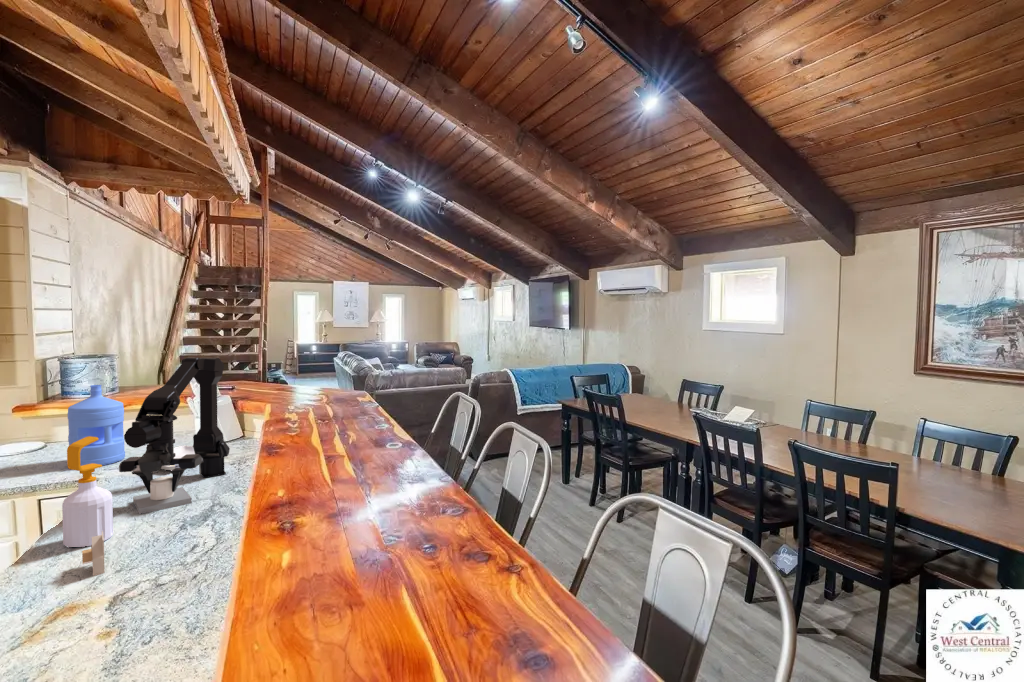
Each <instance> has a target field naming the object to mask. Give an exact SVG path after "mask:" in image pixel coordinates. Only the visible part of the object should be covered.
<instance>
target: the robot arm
mask: <svg viewBox="0 0 1024 682" xmlns="http://www.w3.org/2000/svg"><path fill="white" fill-rule="evenodd" d="M224 368H225V364H224V361H222V360H221V358H219V357H194V356H193V357H191V356H190V357H189V356H188V357H185V358H183V359H182V360H181V364H180V365H179V366H178V367H177V369H176V370H175V372H174V373H172V375H171V376H170V378H168V380H167V381H166V382H165V384H163V385H162V387H160V388H157V389H154V390H153V391H151V392H150V393H149V394H148V395H147V396H146V397H145V398H144V400H143V402H142V404H141V407H140V408H139V411H138V413H137V415H136V417H135V421H132V422H131V427H129V428H128V429H126V431H125V433H124V435H123V436H124V443H126V445H127V446H129V447H130V448H134V449H135V448H141V447H144V446H146V449H145V452H144V453H143V454H142V456H129V457H128V458H125V459H123V460H121V462H120V463H119V465H118V472H119V473H127V472H128V473H130V472H131V474H132V475H135V476H138V477H139V478H140V479H141V481H142V482H143V485H144V487H145V489H146V490H147V494H150V481H151V480H152V479H154V478H153V477H154V474H153V473H154V472H158V471H161V470H160V469H161V467H162V466H170V465H175V469H173V470H172V471H170V472H171V474H172V477H173V478H172V492H175V490H176V488H178V485H179V483H180V481H181V478H182V476H183V474H184V473H185V471H186V470H187V469H188V470H189V469H195V468H196V467H198V469H199V470H198V471H199V474H200V476H202V477H203V479H207V478H211V477H217V476H222V475H227V472H226V471H225V458H226V457H228V456H229V454H230V450H231V448H230V446H229V445H228V444H227V443H226V442H225V440H224V433H223V431H222V430H221V429H220V428H219V426H218V383H219V381H220V380H221V379H222V377H223V372H224ZM193 379H194V380H196V382H197V383H198V385H199V415H200V416H199V426H200V427H199V429H198V431H197V432H196V433H195V434H193V436H192V441H193V445H192V446H193V448H194V452H195V454H188V455H185V456H183V457H182V458H176V459H174V457H175V453H174V448H175V447H174V444H175V443H176V439H175V438H174V421H177V420H178V416H177V415H175V412H176V411H177V409H178V408H179V405H180V404H181V395H182V393H183V392H184V391H185V389H186V388H187V387H188V385H189V384H190V383H191V382H192V381H193Z"/></svg>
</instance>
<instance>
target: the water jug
mask: <svg viewBox="0 0 1024 682" xmlns="http://www.w3.org/2000/svg"><path fill="white" fill-rule="evenodd" d="M89 387H90V390H89V391H90V395H89V397H87V398H85V399H83V400H81V401H79V402H76V403H74V404H72V405H70V406H69V407H68V408H67V421H68V422H67V423H68V436H67V438H68V439H67V440H68V441H67V442H68V446H69V445H71V444H72V443H74V442H76V441H79V440H81V439H83V438H85V437H88V436H92V437H98V440H97V441H95V442H93V443H91V444H89V445H87V446H85V447H83V448H82V449H81V452H80V463H81V466H82V465H86V464H91V463H95V464H101V465H102V467H103V466H108V465H111V464H115V463H118V462H120V461H121V462H122V461H123V460H125V458H126V450H125V440H124V435H125V433H124V419H125V418H124V417H125V409H124V402H123V401H120V400H119V401H118V400H116V399H113V398H109V397H106V396H103V395H102V393H103V392H102V390H103V389H102V384H93V385H92V384H91V385H90V386H89Z"/></svg>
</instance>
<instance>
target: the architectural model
mask: <svg viewBox="0 0 1024 682" xmlns="http://www.w3.org/2000/svg"><path fill="white" fill-rule="evenodd" d="M81 556H82V558H81V560H82V565H85V564H90V563H92V577H95V576H99V575H103V574H104V573H106V570H105V541H104V536H103V531H102V535H99V536H94V537H92V545H91V546H90V548H87V549H84V550H81Z"/></svg>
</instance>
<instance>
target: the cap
mask: <svg viewBox="0 0 1024 682" xmlns="http://www.w3.org/2000/svg"><path fill="white" fill-rule="evenodd" d="M172 478H173V476H160V477H157V478H153V479H152V480H151V481H150V493H149V494H150V495H151V500H162V499H167V498H170V497H173V495H174V492H172Z"/></svg>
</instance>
